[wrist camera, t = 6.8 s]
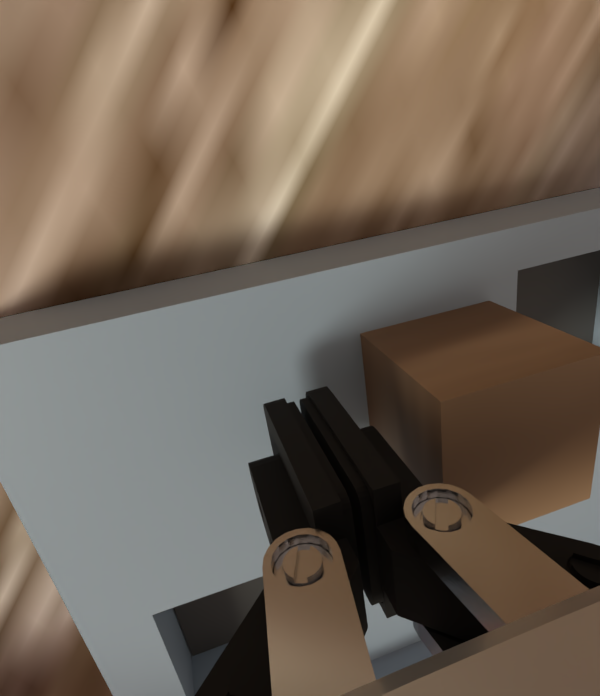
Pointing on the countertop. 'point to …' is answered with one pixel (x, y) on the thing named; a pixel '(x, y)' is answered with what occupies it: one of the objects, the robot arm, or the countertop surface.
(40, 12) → the countertop surface
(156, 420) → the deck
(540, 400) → the block
